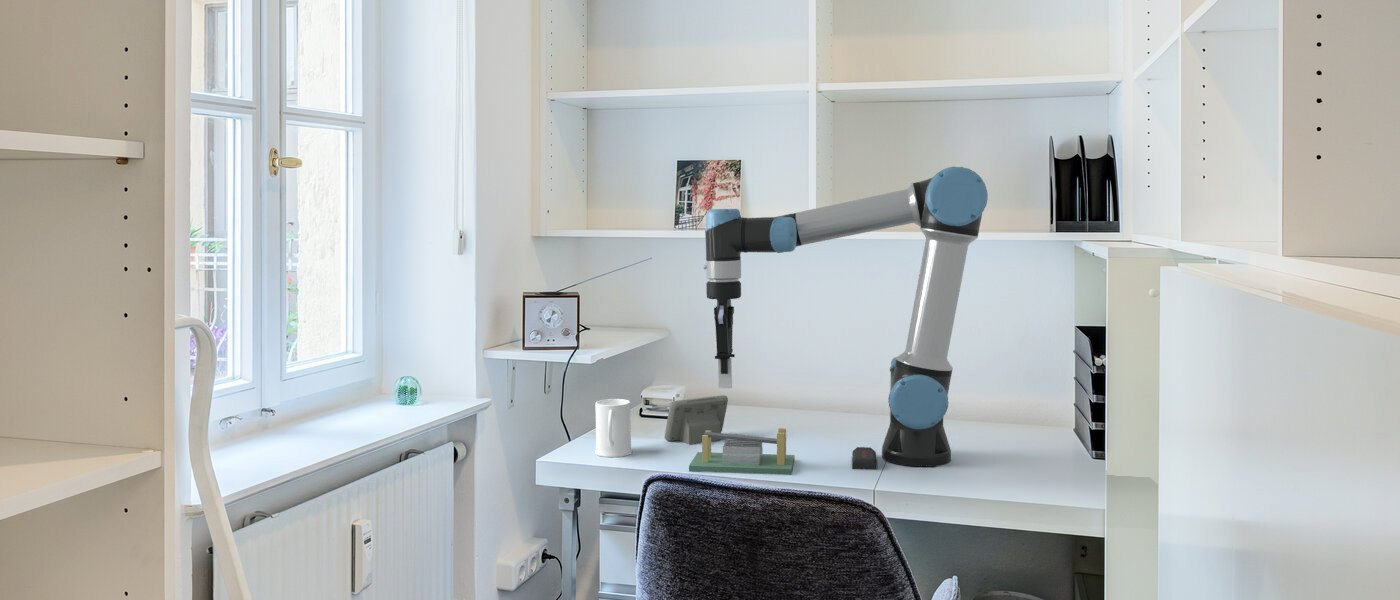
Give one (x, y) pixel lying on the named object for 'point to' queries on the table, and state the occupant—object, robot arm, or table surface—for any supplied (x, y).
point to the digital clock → (695, 418)
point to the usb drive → (864, 458)
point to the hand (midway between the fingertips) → (725, 387)
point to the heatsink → (742, 452)
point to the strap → (741, 437)
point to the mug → (613, 428)
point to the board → (768, 465)
